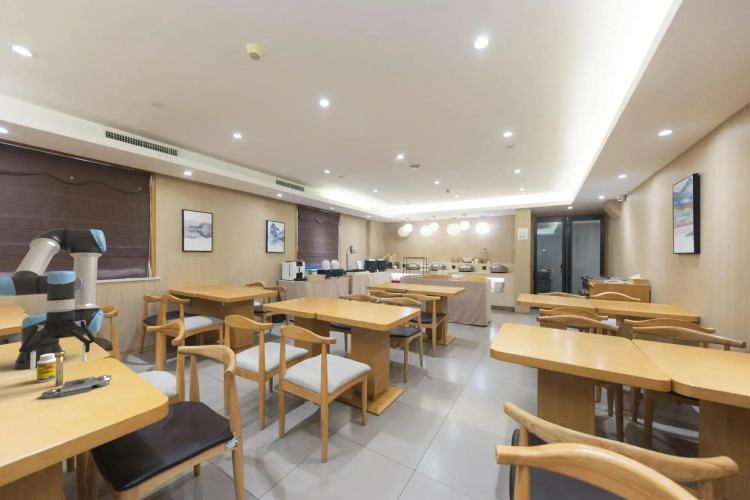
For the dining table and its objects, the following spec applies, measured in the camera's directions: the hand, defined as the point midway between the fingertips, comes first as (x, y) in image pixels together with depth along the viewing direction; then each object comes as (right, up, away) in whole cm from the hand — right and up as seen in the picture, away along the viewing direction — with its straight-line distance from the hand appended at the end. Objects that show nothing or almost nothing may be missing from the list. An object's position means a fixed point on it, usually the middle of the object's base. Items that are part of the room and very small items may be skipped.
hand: (59, 364), depth 112 cm
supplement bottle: (-11, -8, +5) cm, 14 cm away
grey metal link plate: (+11, -8, -4) cm, 14 cm away
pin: (0, -8, 0) cm, 8 cm away
